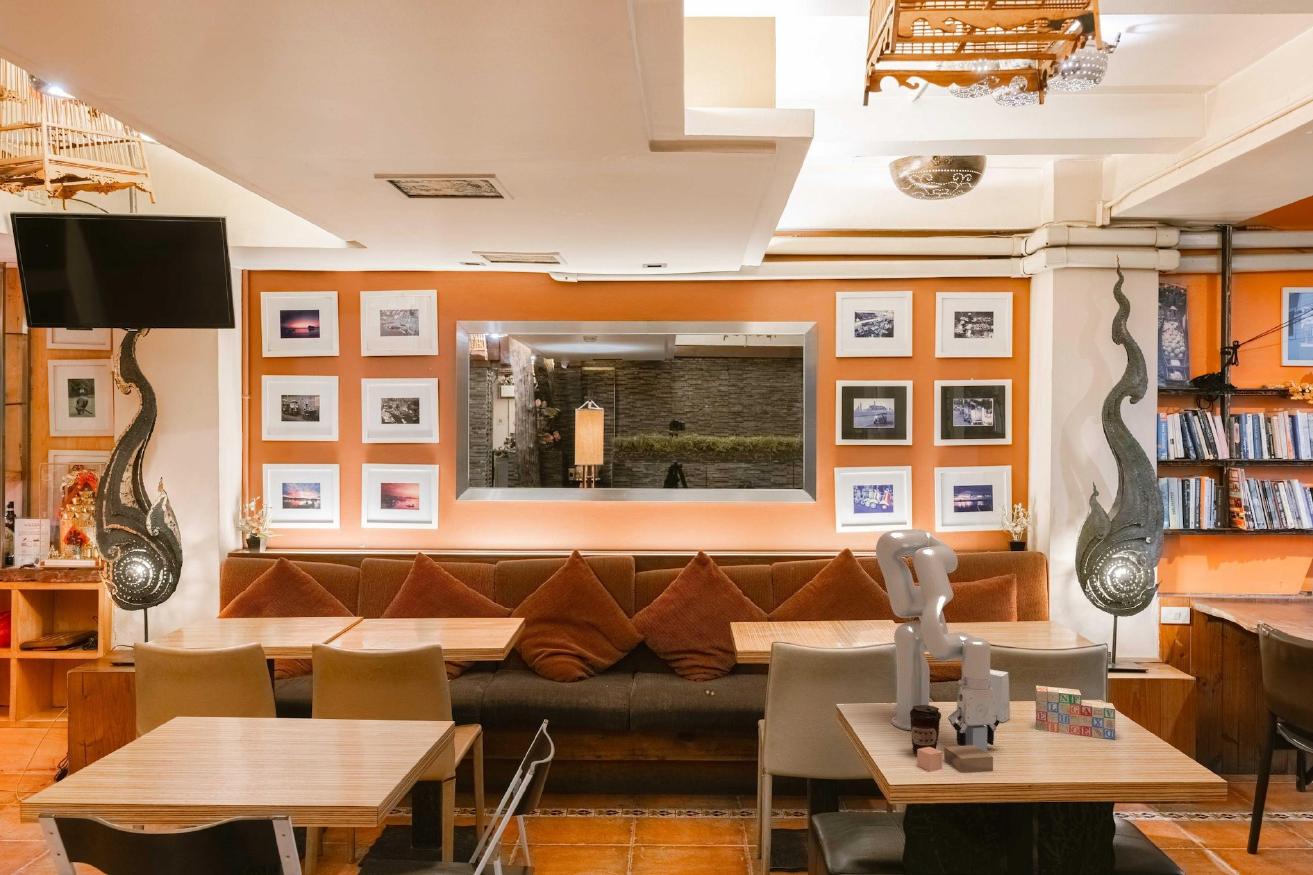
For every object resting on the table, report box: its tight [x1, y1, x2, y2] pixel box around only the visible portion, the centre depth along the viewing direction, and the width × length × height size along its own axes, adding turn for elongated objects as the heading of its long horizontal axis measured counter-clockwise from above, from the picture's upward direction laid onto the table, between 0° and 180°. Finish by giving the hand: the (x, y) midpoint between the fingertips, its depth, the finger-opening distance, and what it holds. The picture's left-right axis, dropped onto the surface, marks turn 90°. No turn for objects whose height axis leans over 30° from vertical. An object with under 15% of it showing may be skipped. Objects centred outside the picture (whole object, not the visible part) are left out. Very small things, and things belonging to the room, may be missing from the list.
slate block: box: [964, 725, 988, 753], centre depth 239 cm, size 4×4×7 cm
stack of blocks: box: [1035, 685, 1116, 741], centre depth 256 cm, size 21×6×12 cm, turn 67°
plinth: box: [943, 745, 994, 774], centre depth 227 cm, size 9×9×4 cm
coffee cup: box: [910, 704, 942, 756], centre depth 235 cm, size 9×8×13 cm
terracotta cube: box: [916, 747, 943, 772], centre depth 226 cm, size 4×4×4 cm
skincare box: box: [990, 669, 1011, 723], centre depth 268 cm, size 8×6×15 cm
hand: (975, 744), depth 239 cm, fingers open, 8 cm apart
